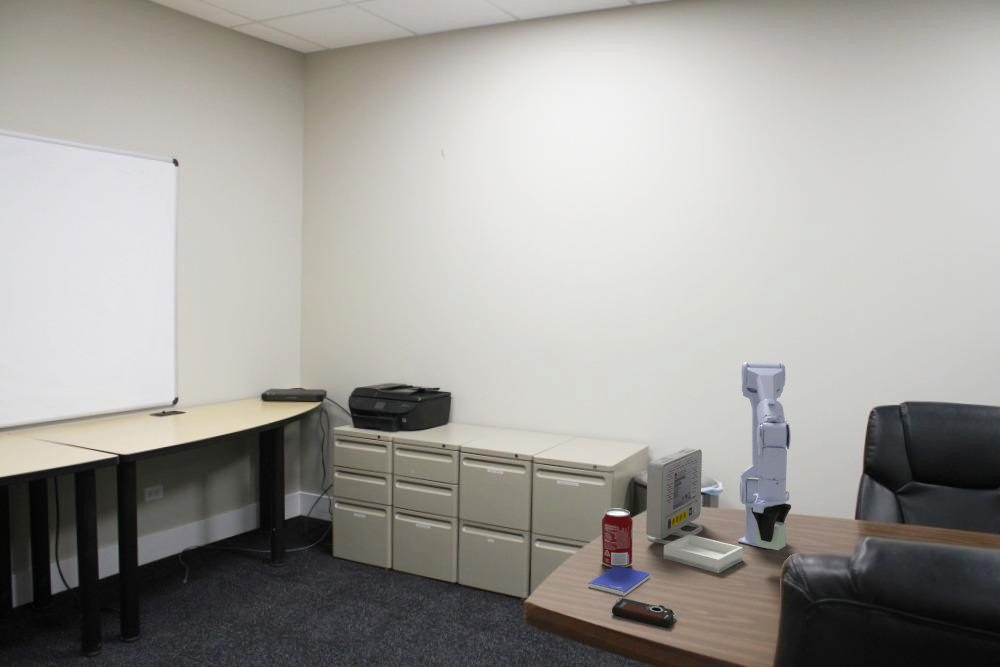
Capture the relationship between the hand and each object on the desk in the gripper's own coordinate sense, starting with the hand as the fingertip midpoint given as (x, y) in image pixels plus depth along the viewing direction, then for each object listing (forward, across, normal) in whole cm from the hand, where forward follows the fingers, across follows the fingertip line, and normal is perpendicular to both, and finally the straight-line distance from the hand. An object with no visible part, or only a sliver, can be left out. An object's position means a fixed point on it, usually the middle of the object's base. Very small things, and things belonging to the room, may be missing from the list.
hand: (770, 538), depth 169 cm
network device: (+7, -9, -28) cm, 31 cm away
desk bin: (+7, +4, -14) cm, 16 cm away
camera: (+8, +40, -7) cm, 41 cm away
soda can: (+7, +21, -26) cm, 34 cm away
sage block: (+2, 0, 0) cm, 2 cm away
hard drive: (+8, +29, -20) cm, 36 cm away
